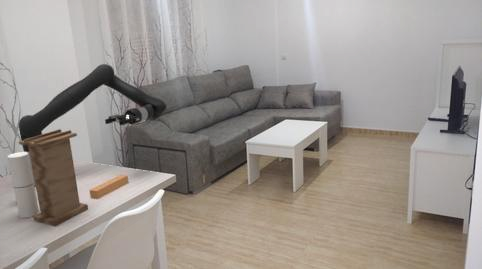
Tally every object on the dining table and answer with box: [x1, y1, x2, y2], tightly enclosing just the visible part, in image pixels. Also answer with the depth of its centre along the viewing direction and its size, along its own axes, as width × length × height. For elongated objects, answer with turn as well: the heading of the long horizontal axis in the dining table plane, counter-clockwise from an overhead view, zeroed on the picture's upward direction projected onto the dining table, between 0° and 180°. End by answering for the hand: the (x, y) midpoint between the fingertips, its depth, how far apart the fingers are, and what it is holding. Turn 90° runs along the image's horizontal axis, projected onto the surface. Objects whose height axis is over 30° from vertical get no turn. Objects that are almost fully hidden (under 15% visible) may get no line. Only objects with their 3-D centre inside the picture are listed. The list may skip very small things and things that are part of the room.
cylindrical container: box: [7, 151, 40, 219], centre depth 162 cm, size 7×7×25 cm
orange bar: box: [89, 174, 129, 200], centre depth 185 cm, size 4×20×4 cm, turn 154°
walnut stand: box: [18, 128, 89, 227], centre depth 158 cm, size 12×16×33 cm
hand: (112, 122), depth 187 cm, fingers open, 8 cm apart
